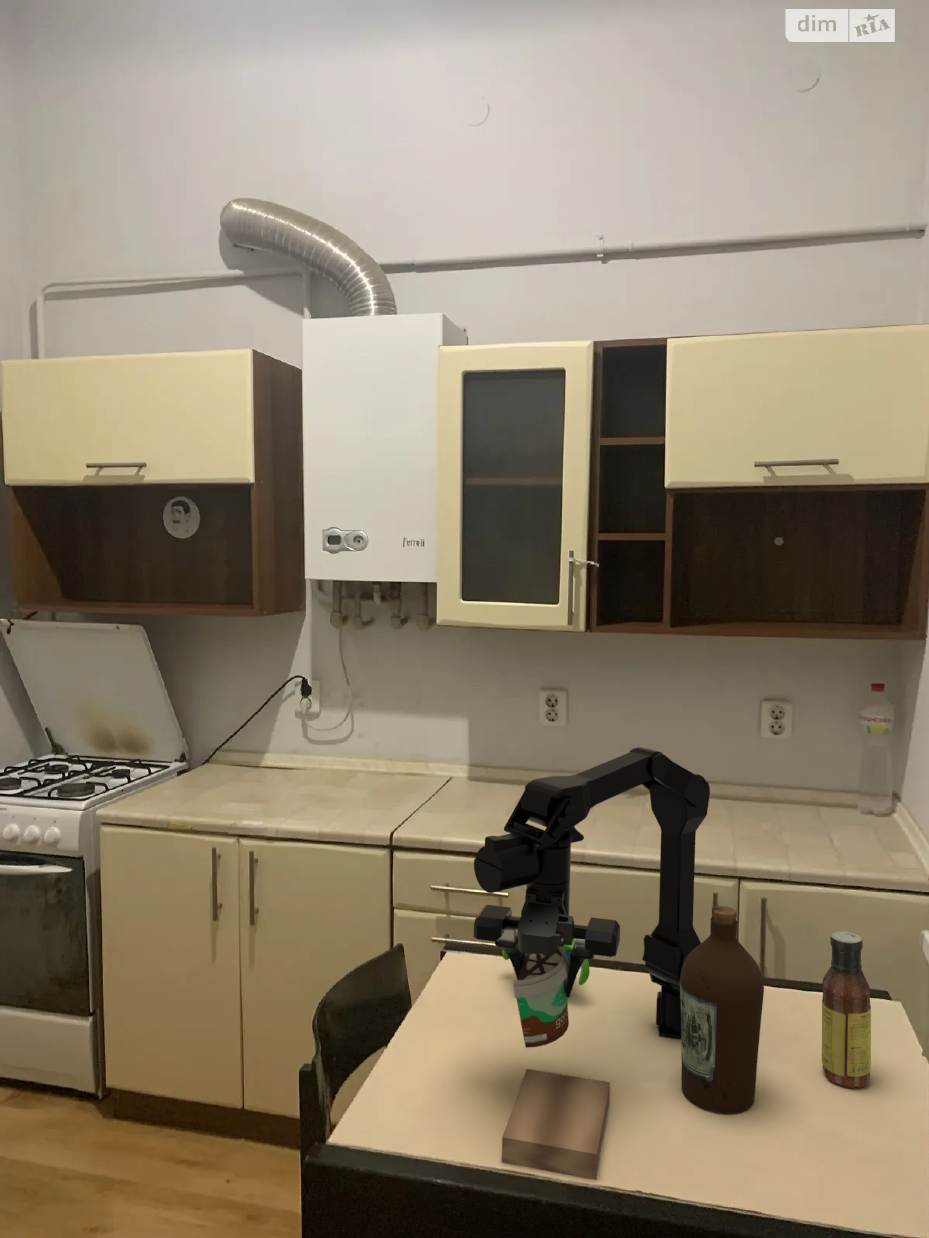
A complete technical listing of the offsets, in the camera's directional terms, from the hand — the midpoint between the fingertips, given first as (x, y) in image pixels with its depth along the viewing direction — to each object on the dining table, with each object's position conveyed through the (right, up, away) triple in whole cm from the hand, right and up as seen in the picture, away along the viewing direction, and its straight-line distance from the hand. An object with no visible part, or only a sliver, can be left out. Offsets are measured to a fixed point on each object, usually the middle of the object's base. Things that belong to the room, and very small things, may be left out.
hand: (545, 992), depth 121 cm
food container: (+1, -5, +1) cm, 5 cm away
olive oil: (+23, -14, 0) cm, 27 cm away
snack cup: (+2, -12, +28) cm, 31 cm away
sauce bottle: (+42, -14, +5) cm, 44 cm away
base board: (+1, -14, -9) cm, 16 cm away
